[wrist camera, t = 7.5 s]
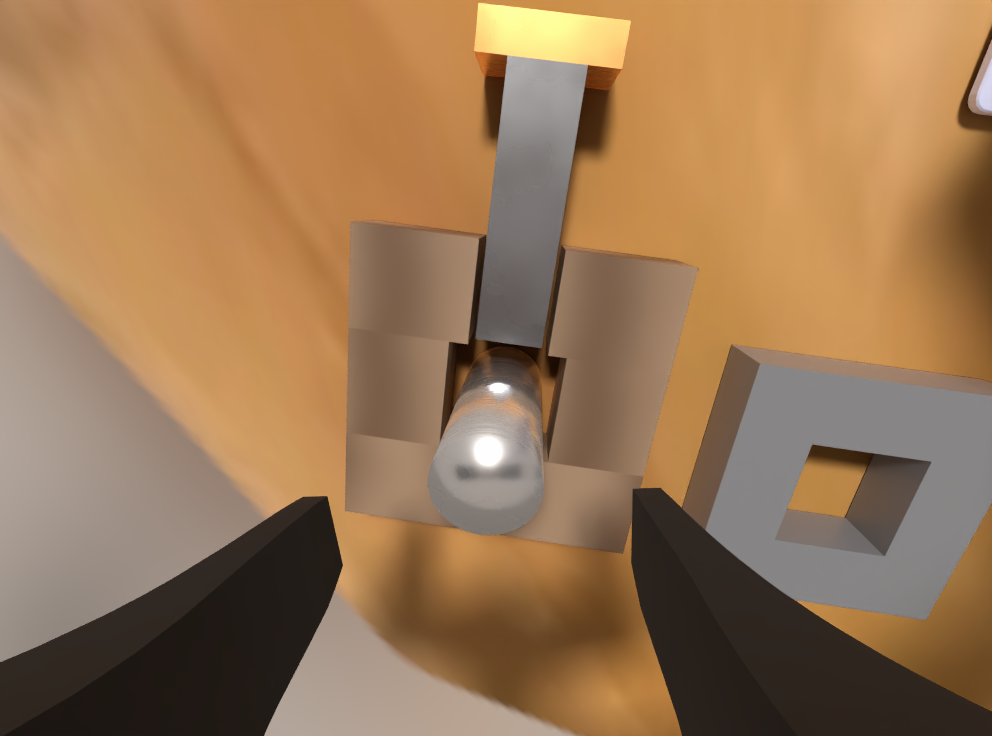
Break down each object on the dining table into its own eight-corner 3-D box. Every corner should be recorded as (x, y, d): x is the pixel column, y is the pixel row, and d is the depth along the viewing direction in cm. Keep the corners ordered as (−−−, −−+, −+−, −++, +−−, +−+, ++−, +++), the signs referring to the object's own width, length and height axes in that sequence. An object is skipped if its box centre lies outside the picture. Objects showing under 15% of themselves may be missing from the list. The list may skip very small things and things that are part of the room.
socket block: (676, 260, 18) (698, 267, 16) (613, 516, 22) (622, 553, 20) (373, 220, 18) (350, 221, 16) (364, 479, 22) (345, 510, 20)
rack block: (982, 379, 19) (1047, 403, 16) (883, 575, 22) (925, 619, 20) (731, 344, 19) (760, 364, 17) (671, 543, 22) (687, 583, 20)
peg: (545, 351, 20) (551, 443, 12) (535, 419, 21) (535, 542, 13) (470, 341, 20) (430, 427, 12) (464, 409, 21) (424, 526, 13)
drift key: (615, 50, 16) (630, 20, 13) (564, 333, 19) (569, 352, 17) (487, 34, 16) (478, 2, 13) (458, 318, 19) (447, 335, 17)
